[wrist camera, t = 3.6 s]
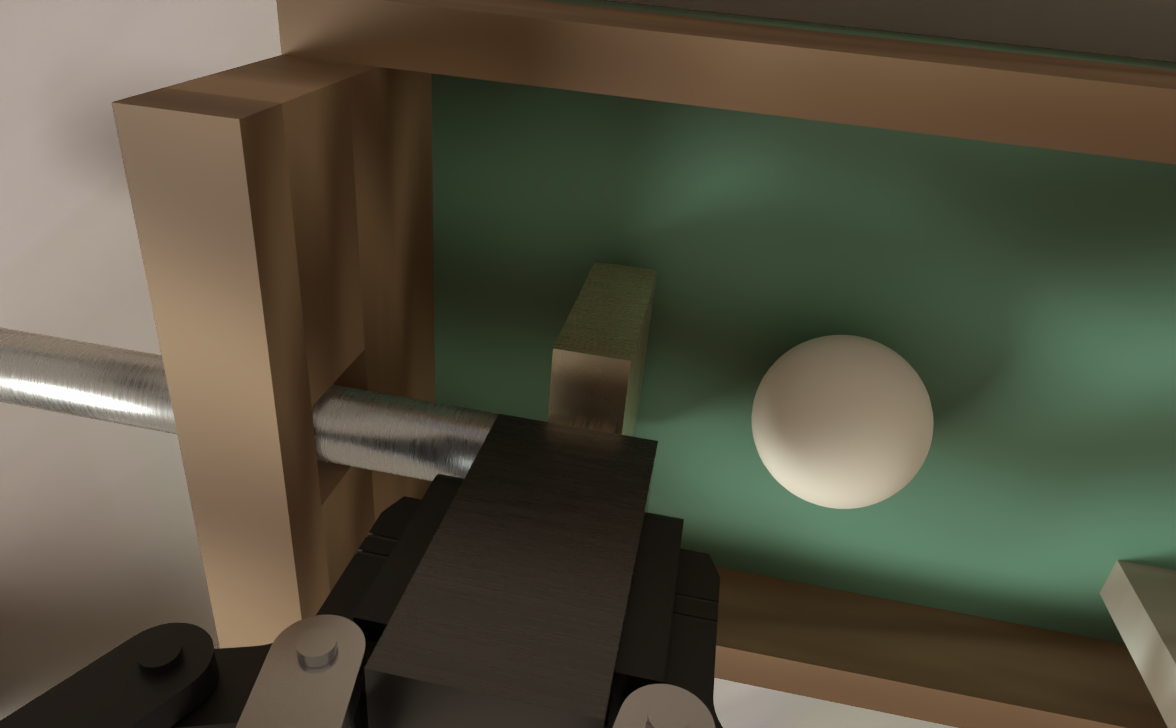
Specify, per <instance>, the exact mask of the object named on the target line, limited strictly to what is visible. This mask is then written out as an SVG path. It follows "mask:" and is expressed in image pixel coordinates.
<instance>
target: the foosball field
mask: <svg viewBox="0 0 1176 728" xmlns="http://www.w3.org/2000/svg"><path fill="white" fill-rule="evenodd" d="M276 1H277V11H278V21H279V32H280V42H281V53H282V55H280V56H276V57H273V58H269V59H266V60H262V61H258V62H255V63H251V64H248V65H244V66H240V67H237V68H233V69H230V70H226V71H222V72H219V73H215V74H212V75H208V76H204V77H201V78H197V79H194V80H190V81H186V82H183V83H179V84H176V85H172V86H168V87H165V88H161V89H158V90H154V91H150V92H147V93H143V94H140V95H136V96H132V97H129V98H125V99H122V100H118V101H114V102H112V107H113V112H114V117H115V122H116V127H117V132H118V137H119V142H120V147H121V152H122V157H123V162H124V167H125V172H126V177H127V182H128V187H129V193H130V198H131V203H132V208H133V213H134V218H135V223H136V228H137V233H138V238H139V243H140V248H141V253H142V258H143V263H144V268H145V273H146V278H147V283H148V288H149V293H150V298H151V303H152V308H153V313H154V319H155V324H156V329H157V334H158V339H159V344H160V349H161V354H162V359H163V364H164V369H165V374H166V379H167V384H168V389H169V394H170V399H171V404H172V409H173V414H174V419H175V424H176V429H177V434H178V439H179V445H180V450H181V455H182V460H183V465H184V470H185V475H186V480H187V485H188V490H189V495H190V500H191V505H192V510H193V515H194V520H195V525H196V530H197V535H198V540H199V545H200V550H201V555H202V560H203V566H204V571H205V576H206V581H207V586H208V591H209V596H210V601H211V606H212V611H213V616H214V621H215V626H216V631H217V636H218V641H219V646H220V649H221V648H235V647H249V646H260V645H266V644H270V643H273V642H274V640H275V639H276V638H277V636H278V635H279V634H280V633H281V632H282V631H283V630H284V629H286V628H287V627H289V626H290V625H291V624H293V623H295V622H297V621H299V620H302V619H304V618H307V617H311V616H315V615H316V614H317V613H318V611H319V609H320V608H321V606H322V605H323V603H324V602H325V600H326V599H327V597H328V595H329V594H330V592H331V591H332V589H333V588H334V586H335V584H336V583H337V581H338V580H339V578H340V577H341V575H342V573H343V572H344V570H345V569H346V567H347V566H348V564H349V562H350V561H351V559H352V558H353V556H354V555H355V554H357V552H358V548H359V547H360V545H361V544H362V542H363V541H364V539H365V537H368V533H369V531H370V530H371V528H372V526H373V525H374V523H375V522H376V520H377V519H378V517H379V515H380V514H381V512H383V511H384V510H385V509H387V508H388V507H390V506H391V505H392V504H394V503H395V502H397V501H398V500H399V499H401V498H402V497H404V496H406V497H411V498H416V499H422V498H423V496H424V495H425V493H426V491H427V490H428V488H429V486H430V484H431V483H432V481H428V480H422V479H417V478H411V477H406V476H401V475H395V474H390V473H384V472H379V471H373V470H368V469H363V468H357V467H352V466H346V465H341V464H335V463H330V462H325V461H319V460H317V455H316V445H315V435H314V425H313V415H312V406H313V405H314V404H315V403H316V401H317V400H318V399H319V398H320V397H321V396H322V395H323V394H324V393H325V392H326V391H327V390H328V388H329V387H330V386H331V385H337V386H343V387H348V388H354V389H360V390H366V391H372V392H377V393H383V394H389V395H395V396H401V397H407V398H412V399H418V400H424V401H430V402H436V403H441V404H447V405H453V406H459V407H465V408H470V409H476V410H482V411H488V412H494V413H499V414H505V415H511V416H517V417H523V418H528V419H534V420H540V421H546V422H548V413H549V399H550V384H551V370H552V356H553V347H554V345H555V343H556V341H557V339H558V337H559V335H560V333H561V331H562V329H563V327H564V325H565V323H566V320H567V318H568V316H569V314H570V312H571V310H572V308H573V306H574V304H575V302H576V300H577V298H578V296H579V293H580V291H581V289H582V287H583V285H584V283H585V281H586V279H587V277H588V275H589V273H590V271H591V269H592V266H593V264H594V262H595V261H596V262H603V263H609V264H616V265H623V266H630V267H637V268H643V269H650V270H657V275H656V283H655V290H654V298H653V305H652V313H651V320H650V328H649V335H648V343H647V350H646V358H645V365H644V372H643V380H642V387H641V395H640V402H639V410H638V417H637V425H636V432H635V437H638V438H644V439H650V440H656V441H658V445H657V452H656V458H655V465H654V472H653V478H652V485H651V491H650V498H649V505H648V511H647V512H648V513H654V514H659V515H665V516H670V517H676V518H681V519H684V523H683V531H682V539H681V547H680V548H681V549H686V550H692V551H697V552H702V553H707V554H710V556H711V558H712V561H713V563H714V565H715V567H716V569H717V571H718V574H719V576H720V589H719V603H718V621H717V640H716V657H715V674H714V678H719V679H724V680H729V681H734V682H739V683H744V684H749V685H753V686H758V687H763V688H768V689H773V690H778V691H783V692H788V693H792V694H797V695H802V696H807V697H812V698H817V699H822V700H827V701H831V702H836V703H841V704H846V705H851V706H856V707H861V708H865V709H870V710H875V711H880V712H885V713H890V714H895V715H900V716H904V717H909V718H914V719H919V720H924V721H929V722H934V723H939V724H943V725H948V726H953V727H958V728H1176V63H1175V62H1166V61H1157V60H1148V59H1138V58H1129V57H1120V56H1111V55H1101V54H1092V53H1083V52H1074V51H1065V50H1055V49H1046V48H1037V47H1028V46H1018V45H1009V44H1000V43H991V42H982V41H972V40H963V39H954V38H945V37H935V36H926V35H917V34H908V33H899V32H889V31H880V30H871V29H862V28H852V27H843V26H834V25H825V24H816V23H806V22H797V21H788V20H779V19H769V18H760V17H751V16H742V15H732V14H723V13H714V12H705V11H696V10H686V9H677V8H668V7H659V6H649V5H640V4H631V3H622V2H613V1H603V0H276ZM829 335H853V336H859V337H864V338H868V339H871V340H874V341H876V342H879V343H881V344H883V345H885V346H887V347H888V348H890V349H892V350H893V351H895V352H896V353H898V354H899V355H900V356H901V357H902V358H904V359H905V360H906V361H907V362H908V363H909V364H910V365H911V366H912V368H913V369H914V370H915V371H916V372H917V374H918V375H919V377H920V379H921V380H922V382H923V384H924V386H925V388H926V390H927V392H928V395H929V398H930V402H931V406H932V411H933V421H934V424H933V437H932V442H931V445H930V449H929V452H928V455H927V457H926V459H925V461H924V463H923V465H922V466H921V468H920V470H919V471H918V473H917V474H916V475H915V476H914V478H913V479H912V480H911V481H910V482H909V483H908V484H907V485H906V486H905V487H904V488H903V489H901V490H900V491H898V492H897V493H896V494H894V495H893V496H891V497H889V498H887V499H885V500H883V501H881V502H879V503H876V504H873V505H870V506H866V507H861V508H853V509H835V508H828V507H823V506H819V505H816V504H813V503H810V502H808V501H805V500H803V499H801V498H799V497H797V496H796V495H794V494H792V493H791V492H789V491H788V490H787V489H786V488H784V487H783V486H782V485H781V484H780V483H779V482H778V481H777V480H776V479H775V478H774V477H773V476H772V475H771V473H770V472H769V471H768V469H767V468H766V466H765V465H764V464H763V462H762V460H761V458H760V456H759V454H758V451H757V448H756V445H755V442H754V438H753V433H752V418H751V416H752V408H753V401H754V398H755V395H756V391H757V389H758V387H759V385H760V383H761V380H762V378H763V377H764V375H765V374H766V372H767V371H768V370H769V368H770V367H771V366H772V365H773V364H774V363H775V362H776V360H777V359H779V358H780V357H781V356H782V355H783V354H784V353H786V352H787V351H789V350H790V349H792V348H793V347H795V346H797V345H799V344H801V343H803V342H806V341H808V340H811V339H814V338H818V337H822V336H829Z"/></svg>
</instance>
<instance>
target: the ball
mask: <svg viewBox="0 0 1176 728" xmlns="http://www.w3.org/2000/svg"><path fill="white" fill-rule="evenodd" d="M751 418H752V433H753V438H754V442H755V445H756V448H757V451H758V454H759V456H760V458H761V460H762V462H763V464H764V465H765V466H766V468H767V469H768V471H769V472H770V473H771V475H772V476H773V477H774V478H775V479H776V480H777V481H778V482H779V483H780V484H781V485H782V486H783V487H784V488H786V489H787V490H788V491H789V492H791V493H792V494H794V495H796V496H797V497H799V498H801V499H803V500H805V501H808V502H810V503H813V504H816V505H819V506H823V507H828V508H835V509H853V508H861V507H866V506H870V505H873V504H876V503H879V502H881V501H883V500H885V499H887V498H889V497H891V496H893V495H894V494H896V493H897V492H898V491H900V490H901V489H903V488H904V487H905V486H906V485H907V484H908V483H909V482H910V481H911V480H912V479H913V478H914V476H915V475H916V474H917V473H918V471H919V470H920V468H921V466H922V465H923V463H924V461H925V459H926V457H927V455H928V452H929V449H930V445H931V442H932V437H933V424H934V421H933V411H932V406H931V402H930V398H929V395H928V392H927V390H926V388H925V386H924V384H923V382H922V380H921V379H920V377H919V375H918V374H917V372H916V371H915V370H914V369H913V368H912V366H911V365H910V364H909V363H908V362H907V361H906V360H905V359H904V358H902V357H901V356H900V355H899V354H898V353H896V352H895V351H893V350H892V349H890V348H888V347H887V346H885V345H883V344H881V343H879V342H876V341H874V340H871V339H868V338H864V337H859V336H853V335H829V336H822V337H818V338H814V339H811V340H808V341H806V342H803V343H801V344H799V345H797V346H795V347H793V348H792V349H790V350H789V351H787V352H786V353H784V354H783V355H782V356H781V357H780V358H779V359H777V360H776V362H775V363H774V364H773V365H772V366H771V367H770V368H769V370H768V371H767V372H766V374H765V375H764V377H763V378H762V380H761V383H760V385H759V387H758V389H757V391H756V395H755V398H754V401H753V408H752V416H751Z"/></svg>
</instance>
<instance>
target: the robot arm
mask: <svg viewBox="0 0 1176 728" xmlns="http://www.w3.org/2000/svg"><path fill="white" fill-rule="evenodd" d="M463 480H464V478H459V477H454V476H448V475H443V474H438V475H436V476H435V478H434V479H433V481H432V483H431V484H430V486H429V488H428V490H427V491H426V493H425V495H424V496H423V498H422V499H416V498H411V497H406V496H404V497H402V498H401V499H399V500H398V501H397V502H395V503H394V504H392V505H391V506H390V507H388V508H387V509H385V510H384V511H383V512H381V514H380V515H379V517H378V519H377V520H376V522H375V523H374V525H373V526H372V528H371V530H370V531H369V533H368V537H365V539H364V541H363V542H362V544H361V545H360V547H359V548H358V552H357V554H355V555H354V556H353V558H352V559H351V561H350V562H349V564H348V566H347V567H346V569H345V570H344V572H343V573H342V575H341V577H340V578H339V580H338V581H337V583H336V584H335V586H334V588H333V589H332V591H331V592H330V594H329V595H328V597H327V599H326V600H325V602H324V603H323V605H322V606H321V608H320V609H319V611H318V613H317V614H316V615H315V616H311V617H307V618H304V619H302V620H299V621H297V622H295V623H293V624H291V625H290V626H289V627H287V628H286V629H284V630H283V631H282V632H281V633H280V634H279V635H278V636H277V638H276V639H275V640H274V642H273V643H270V644H266V645H260V646H249V647H235V648H221V649H214V646H213V642H212V639H211V637H210V635H209V634H208V633H207V632H206V631H205V630H203V629H202V628H200V627H198V626H195V625H193V624H188V623H168V624H163V625H159V626H156V627H152V628H150V629H147V630H145V631H143V632H141V633H139V634H137V635H135V636H134V637H132V638H131V639H129V640H127V641H126V642H124V643H123V644H121V645H119V646H118V647H116V648H115V649H113V650H112V651H110V652H108V653H107V654H105V655H104V656H102V657H100V658H99V659H97V660H96V661H94V662H93V663H91V664H89V665H88V666H86V667H85V668H83V669H81V670H80V671H78V672H77V673H75V674H74V675H72V676H70V677H69V678H67V679H66V680H64V681H62V682H61V683H59V684H58V685H56V686H55V687H53V688H51V689H50V690H48V691H47V692H45V693H44V694H42V695H40V696H39V697H37V698H36V699H34V700H32V701H31V702H29V703H28V704H26V705H25V706H23V707H21V708H20V709H18V710H17V711H15V712H13V713H12V714H10V715H9V716H7V717H6V718H4V719H2V720H1V721H0V728H369V725H368V712H367V699H366V685H365V672H364V668H365V666H366V664H367V662H368V660H369V658H370V656H371V655H372V653H373V651H374V649H375V647H376V645H377V643H378V641H379V639H380V637H381V636H382V634H383V632H384V630H385V628H386V626H387V624H388V622H389V620H390V619H391V617H392V615H393V613H394V611H395V609H396V607H397V605H398V603H399V602H400V600H401V598H402V596H403V594H404V592H405V590H406V588H407V586H408V584H409V583H410V581H411V579H412V577H413V575H414V573H415V571H416V569H417V567H418V566H419V564H420V562H421V560H422V558H423V556H424V554H425V552H426V550H427V549H428V547H429V545H430V543H431V541H432V539H433V537H434V535H435V533H436V531H437V530H438V528H439V526H440V524H441V522H442V520H443V518H444V516H445V514H446V513H447V511H448V509H449V507H450V505H451V503H452V501H453V499H454V497H455V496H456V494H457V492H458V490H459V488H460V486H461V484H462V482H463ZM683 523H684V519H681V518H676V517H670V516H665V515H659V514H654V513H648V512H645V516H644V521H643V526H642V532H641V537H640V542H639V547H638V552H637V558H636V563H635V568H634V573H633V579H632V584H631V589H630V594H629V599H628V605H627V610H626V615H625V620H624V626H623V631H622V636H621V641H620V646H619V652H618V657H617V662H616V667H615V673H614V680H613V687H612V694H611V700H610V707H609V714H608V721H607V728H723V727H722V726H721V724H720V722H719V720H718V718H717V715H716V713H715V709H714V704H713V691H714V674H715V657H716V640H717V621H718V603H719V589H720V576H719V574H718V571H717V569H716V567H715V565H714V563H713V561H712V558H711V556H710V554H707V553H702V552H697V551H692V550H686V549H681V548H680V547H681V539H682V531H683Z"/></svg>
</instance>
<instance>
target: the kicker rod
mask: <svg viewBox="0 0 1176 728" xmlns="http://www.w3.org/2000/svg"><path fill="white" fill-rule="evenodd" d="M656 275H657V270H650V269H643V268H637V267H630V266H623V265H616V264H609V263H603V262H596V261H595V262H594V264H593V266H592V269H591V271H590V273H589V275H588V277H587V279H586V281H585V283H584V285H583V287H582V289H581V291H580V293H579V296H578V298H577V300H576V302H575V304H574V306H573V308H572V310H571V312H570V314H569V316H568V318H567V320H566V323H565V325H564V327H563V329H562V331H561V333H560V335H559V337H558V339H557V341H556V343H555V345H554V347H553V356H552V370H551V384H550V399H549V413H548V422H546V421H540V420H534V419H528V418H523V417H517V416H511V415H505V414H499V413H494V412H488V411H482V410H476V409H470V408H465V407H459V406H453V405H447V404H441V403H436V402H430V401H424V400H418V399H412V398H407V397H401V396H395V395H389V394H383V393H377V392H372V391H366V390H360V389H354V388H348V387H343V386H337V385H331V386H330V387H329V388H328V390H327V391H326V392H325V393H324V394H323V395H322V396H321V397H320V398H319V399H318V400H317V401H316V403H315V404H314V405H313V406H312V415H313V425H314V435H315V445H316V455H317V460H319V461H325V462H330V463H335V464H341V465H346V466H352V467H357V468H363V469H368V470H373V471H379V472H384V473H390V474H395V475H401V476H406V477H411V478H417V479H422V480H428V481H433V479H434V478H435V476H436V475H438V474H443V475H448V476H454V477H459V478H464V480H463V482H462V484H461V486H460V488H459V490H458V492H457V494H456V496H455V497H454V499H453V501H452V503H451V505H450V507H449V509H448V511H447V513H446V514H445V516H444V518H443V520H442V522H441V524H440V526H439V528H438V530H437V531H436V533H435V535H434V537H433V539H432V541H431V543H430V545H429V547H428V549H427V550H426V552H425V554H424V556H423V558H422V560H421V562H420V564H419V566H418V567H417V569H416V571H415V573H414V575H413V577H412V579H411V581H410V583H409V584H408V586H407V588H406V590H405V592H404V594H403V596H402V598H401V600H400V602H399V603H398V605H397V607H396V609H395V611H394V613H393V615H392V617H391V619H390V620H389V622H388V624H387V626H386V628H385V630H384V632H383V634H382V636H381V637H380V639H379V641H378V643H377V645H376V647H375V649H374V651H373V653H372V655H371V656H370V658H369V660H368V662H367V664H366V666H365V668H364V672H365V685H366V699H367V712H368V725H369V728H607V721H608V714H609V707H610V700H611V694H612V687H613V680H614V673H615V667H616V662H617V657H618V652H619V646H620V641H621V636H622V631H623V626H624V620H625V615H626V610H627V605H628V599H629V594H630V589H631V584H632V579H633V573H634V568H635V563H636V558H637V552H638V547H639V542H640V537H641V532H642V526H643V521H644V516H645V512H647V511H648V505H649V498H650V491H651V485H652V478H653V472H654V465H655V458H656V452H657V445H658V441H656V440H650V439H644V438H638V437H635V432H636V425H637V417H638V410H639V402H640V395H641V387H642V380H643V372H644V365H645V358H646V350H647V343H648V335H649V328H650V320H651V313H652V305H653V298H654V290H655V283H656ZM0 402H5V403H10V404H15V405H21V406H26V407H32V408H37V409H42V410H48V411H53V412H59V413H64V414H70V415H75V416H80V417H86V418H91V419H97V420H102V421H108V422H113V423H118V424H124V425H129V426H135V427H140V428H146V429H151V430H156V431H162V432H167V433H173V434H177V429H176V424H175V419H174V414H173V409H172V404H171V399H170V394H169V389H168V384H167V379H166V374H165V369H164V364H163V359H162V355H157V354H151V353H145V352H139V351H134V350H128V349H122V348H116V347H110V346H105V345H99V344H93V343H87V342H81V341H76V340H70V339H64V338H58V337H52V336H47V335H41V334H35V333H29V332H23V331H18V330H12V329H6V328H0Z"/></svg>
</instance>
